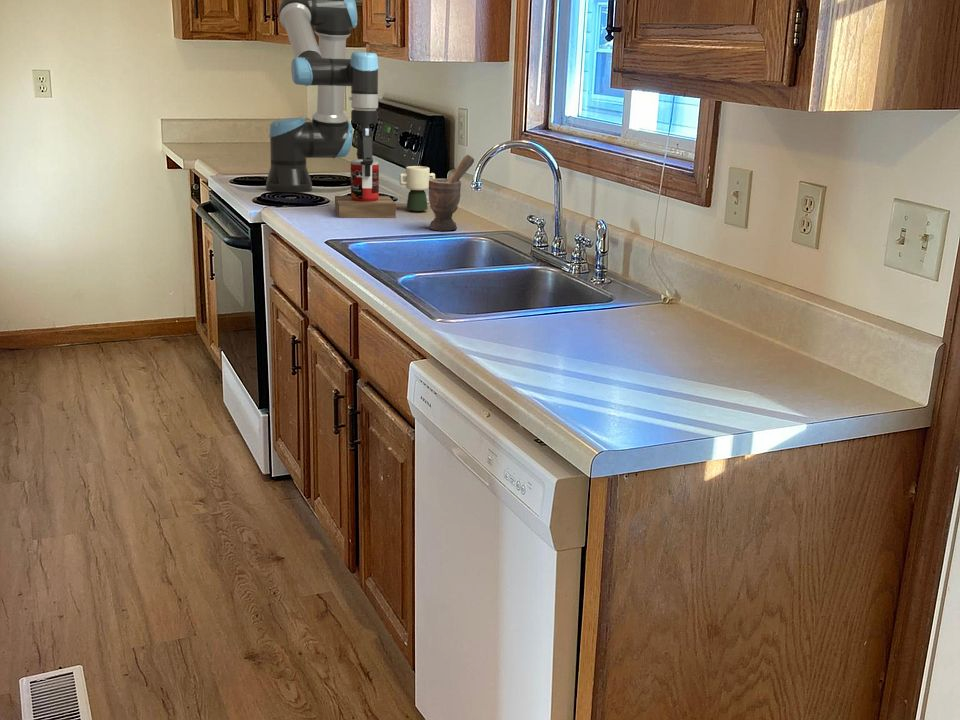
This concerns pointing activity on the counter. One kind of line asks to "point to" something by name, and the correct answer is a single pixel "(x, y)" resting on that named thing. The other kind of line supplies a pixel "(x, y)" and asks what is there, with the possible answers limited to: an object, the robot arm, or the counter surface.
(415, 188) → the character mug
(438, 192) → the mortar and pestle
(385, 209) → the walnut base
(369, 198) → the canned food
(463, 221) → the counter surface
